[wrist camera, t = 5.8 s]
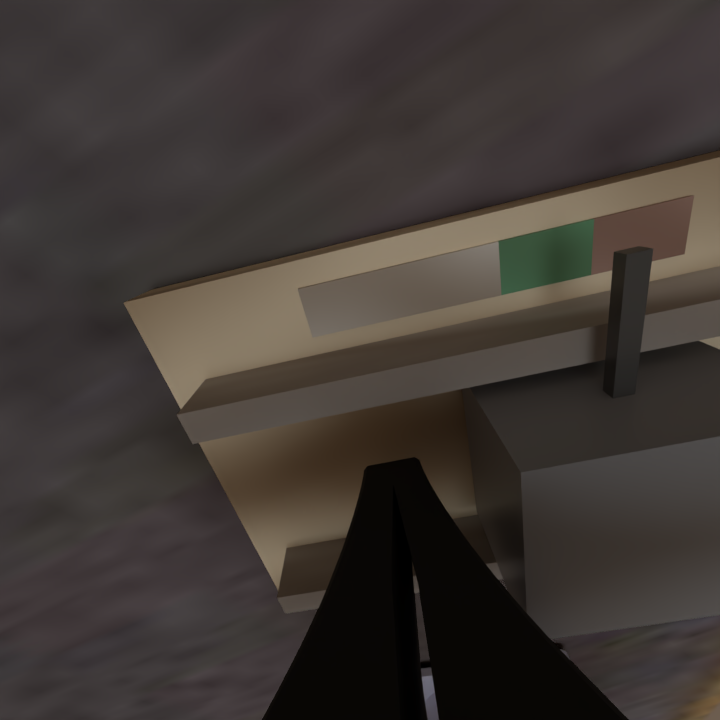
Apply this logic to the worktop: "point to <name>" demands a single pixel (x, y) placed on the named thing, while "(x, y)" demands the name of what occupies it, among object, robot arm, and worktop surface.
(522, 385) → the gauge carriage
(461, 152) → the worktop surface
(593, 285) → the gauge board
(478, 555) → the robot arm
